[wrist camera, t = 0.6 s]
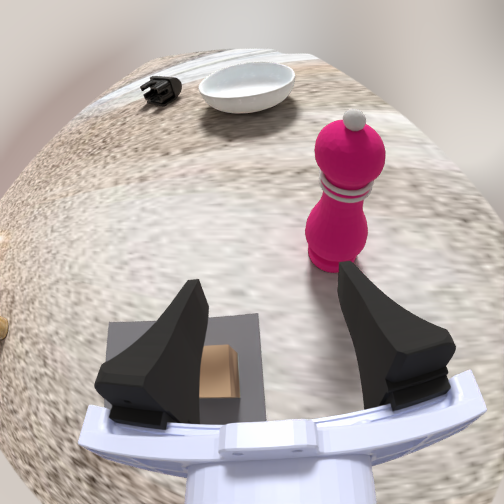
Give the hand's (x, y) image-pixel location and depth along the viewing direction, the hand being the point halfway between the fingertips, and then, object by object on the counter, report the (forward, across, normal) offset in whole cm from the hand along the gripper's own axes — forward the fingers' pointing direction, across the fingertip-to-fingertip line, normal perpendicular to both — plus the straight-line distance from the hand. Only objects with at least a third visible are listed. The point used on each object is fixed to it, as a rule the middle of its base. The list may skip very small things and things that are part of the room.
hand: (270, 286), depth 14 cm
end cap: (+67, +24, -11) cm, 72 cm away
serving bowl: (+55, +1, -5) cm, 55 cm away
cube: (+5, +8, +17) cm, 19 cm away
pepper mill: (+18, -7, +11) cm, 22 cm away
